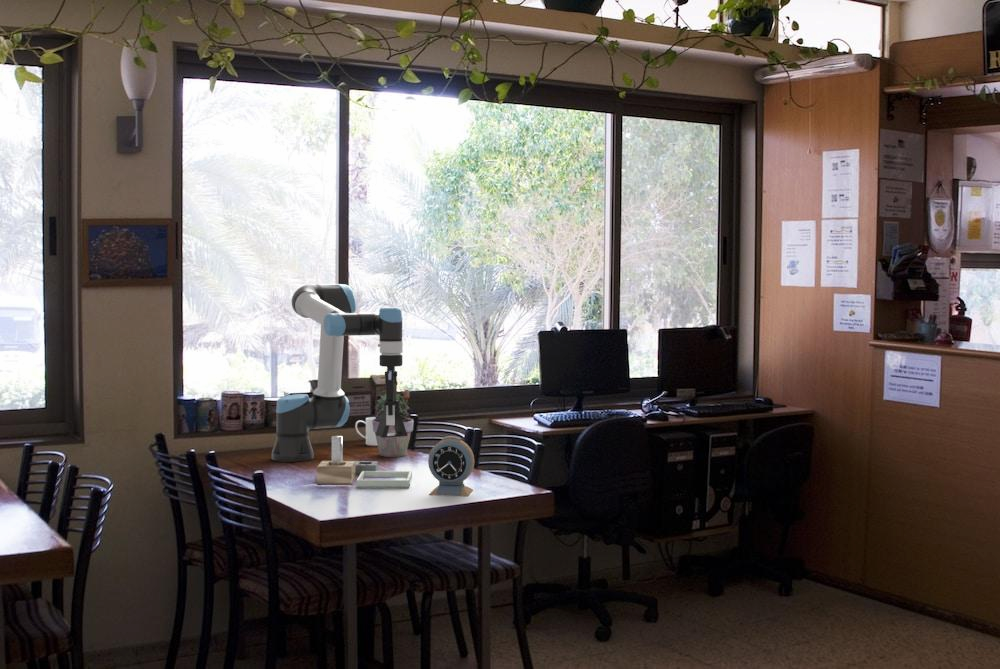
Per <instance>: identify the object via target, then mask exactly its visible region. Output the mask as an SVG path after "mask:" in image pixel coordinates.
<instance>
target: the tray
mask: <svg viewBox="0 0 1000 669" xmlns="http://www.w3.org/2000/svg"><path fill="white" fill-rule="evenodd" d="M366 477H367V478H369V477H370V478H374V477H376V478H379V477H380V478H386V477H387V478H401V477H402V478H406V479H364V478H366ZM412 478H413V470H410V471H409V470H408V471H407V470H378V471H362V472H361V474H360V475H359V476H358V477H357V479H356V489H409V488H410V486H411V484H410V483H411V481H412Z"/></svg>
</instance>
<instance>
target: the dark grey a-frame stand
mask: <svg viewBox="0 0 1000 669" xmlns="http://www.w3.org/2000/svg"><path fill="white" fill-rule="evenodd" d="M384 403H386V400H385V401H384ZM394 403H395V404H394V405H395V425H394V428H395V432H396V433H389V434H388V430H389V426H390V425H386V405H384V410H383V413H382V416H381V419H380V422H379V425H378V428H377V431H376V435H377V436H379V437H382V438H385V437H401V436H407V432H406V429H405V426H404V423H403V421H402V418H401V415H400V412H399V403H398V401H396V400H394Z"/></svg>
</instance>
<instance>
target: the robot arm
mask: <svg viewBox="0 0 1000 669" xmlns="http://www.w3.org/2000/svg"><path fill="white" fill-rule="evenodd" d="M292 294H293V295H292V298H291V307H292V310H293V311H294V313H296V314H297V315H298V316H300V317H302V318H303V319H304V318H305V319H311V320H312V321H313V322H314V321H315V322H316V323H318V324H319V325H320V332H319V333H320V336H319V338H320V339H319V356H318V371H317V372H318V373H317V387H316V388H315V389H314V390H313V391H312V397H309V394H307V393H298V394H289V395H286V396H285V395H284V396H281V397H279V398H278V400H277V401H276V409H275V413H276V414H275V415H276V420H275V421H276V426H275V427H276V438H275V439H276V440H275V442H274V444H273V448H272V451H271V460H272V461H276V462H281V463H282V462H286V463H289V462H290V463H294V462H306V461H312V460H314V454H315V452H314V449H313V447H312V443H311V441H310V437H309V436H310V434H309V433H310V432H309V431H310V430H317V429H319V430H320V429H328V428H329V429H334V428H341V427H342V426H344V425H345V423H347V421H348V419H349V416H350V408H351V407H350V401H349V398H348V397H347V396H346V395H345V392H344V391H343V390H342V371H343V354H344V341H345V340H344V338H345V336H347V337H348V336H379V343H378V344H377V347H379V353H380V355H379V366H380V367H383V368H384V367H386V371H385V372H384V378H385V380H384V381H385V388H386V389H385V390H386V392H385V394H386V403H384V405H386V425H395V405H394V404H395V403H394V400H396V393H397V388H396V387H397V385H396V384H397V383H398V381H397V380H398V379H397V377H398V371H396V367H402V366H403V355H402V353H403V352H404V351H403V345H404V344H403V343H404V342H403V319H404V317H403V310H402V308H401V307H399V306H398V307H393V306H391V307H390V306H389V307H388V306H387V307H383V306H382V307H380V308H379V310H378V311H379V312H376V311H375V312H356V309H357V302H356V296H355V294H354V291H353V289H352V288H351V287H350V286H349V285H348V284H343V283H316V284H315V283H309V284H306V285H305V284H304V285H302V286H301V287H299V288H297V289H296V290H295V291H294V293H292ZM396 401H398V400H396Z"/></svg>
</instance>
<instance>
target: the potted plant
mask: <svg viewBox="0 0 1000 669" xmlns="http://www.w3.org/2000/svg"><path fill="white" fill-rule="evenodd" d="M401 394H402V396H401ZM410 396H411V395H410V391H409V390H408V389H405V390H404V391H402V390H401V391H400V392H399V391H396V400H398V403H399V412H400V415H401V418H402V421H403V423H404V426H405V429H406V432H407V436H401V437H385V438H382V437H379V436H377V435H376V431H377V428H378V425H379V422H380V419H381V416H382V413H383V410H384V401H385V400H386V393H384V395H383V394H382V395H380V399H377V400H376V402H377V403H378V404H377V405H376V406H374V409H375V410H376V414H375V413H374V414H373V415H370V417H375V418H376V419H373V420H372V424H373V431H374V432H375V435H376V440H377V444H378V446H377V448H378V453H379V456H380V457H386V458H397V457H405V456H406V455H407V453H408V452H407V451H408V448H409V443H410V439H411V435H412V434H411V433H412V432H413V431H414V423H415V422H414V418H410V417H408V416H411V413H409V411H408V410H411V407H409V406H408V405H409V404H411V403H409V402H408V401H410V400H409V399H410ZM416 405H418V404H416ZM389 433H396V432H395V428H394V425H390V426H389V430H388V434H389Z"/></svg>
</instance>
